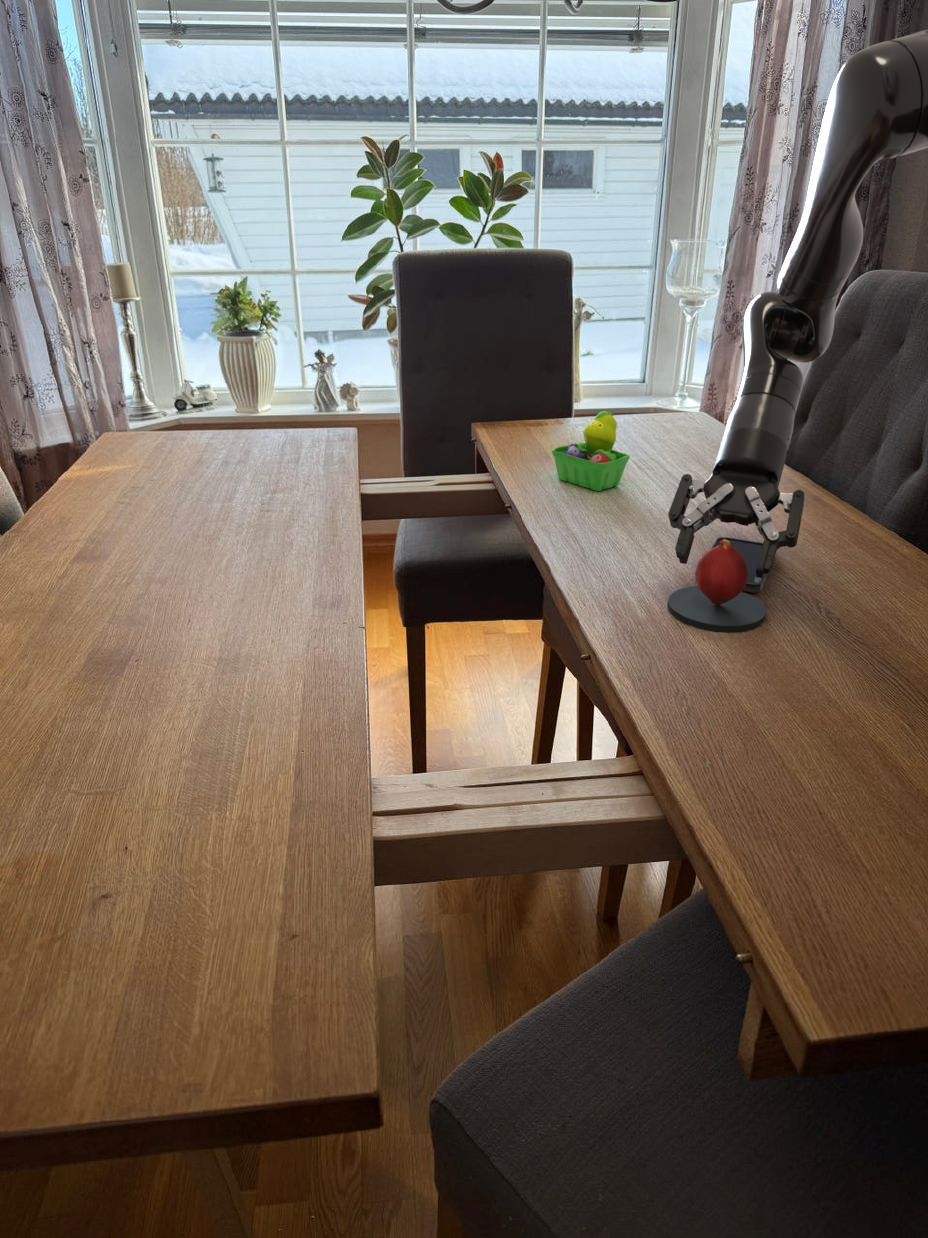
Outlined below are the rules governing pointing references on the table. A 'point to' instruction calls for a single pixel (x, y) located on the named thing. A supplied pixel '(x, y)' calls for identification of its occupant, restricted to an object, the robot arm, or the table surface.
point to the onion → (721, 573)
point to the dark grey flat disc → (716, 611)
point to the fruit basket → (592, 456)
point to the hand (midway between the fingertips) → (720, 568)
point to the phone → (748, 561)
